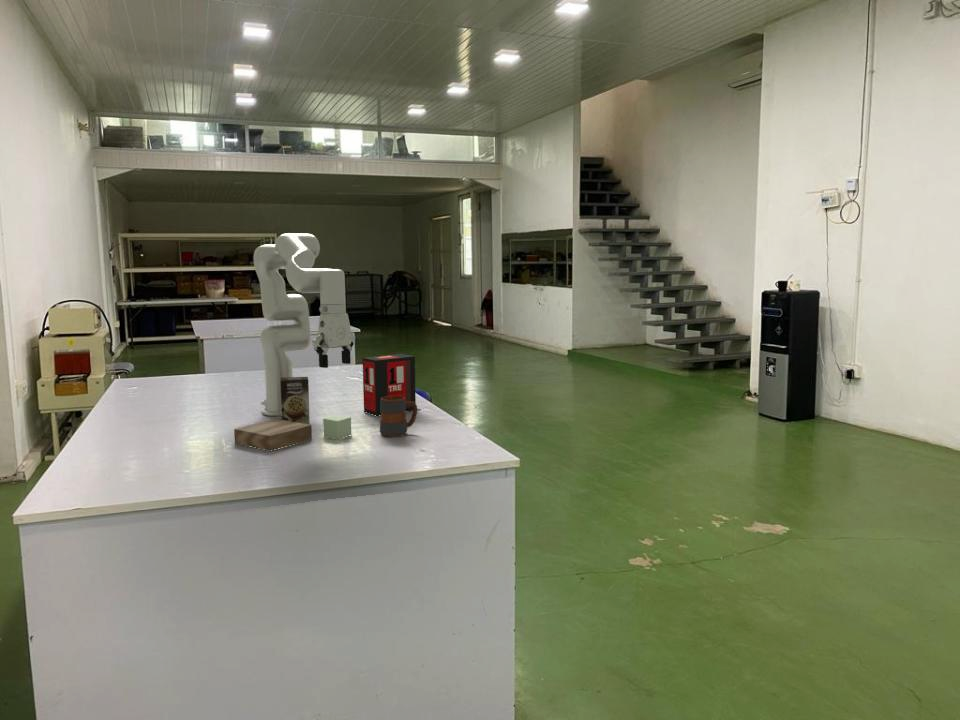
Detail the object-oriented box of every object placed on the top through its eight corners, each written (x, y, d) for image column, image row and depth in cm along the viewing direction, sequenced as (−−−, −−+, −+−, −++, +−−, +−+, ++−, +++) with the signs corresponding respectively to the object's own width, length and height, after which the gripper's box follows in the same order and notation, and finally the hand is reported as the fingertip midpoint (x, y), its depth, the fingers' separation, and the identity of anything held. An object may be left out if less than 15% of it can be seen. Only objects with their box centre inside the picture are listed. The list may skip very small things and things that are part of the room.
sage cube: (323, 437, 219) (323, 418, 218) (337, 433, 224) (337, 415, 223) (337, 440, 216) (337, 421, 215) (351, 436, 221) (350, 417, 220)
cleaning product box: (402, 406, 265) (401, 353, 262) (415, 410, 258) (414, 356, 255) (363, 412, 254) (362, 357, 251) (376, 416, 248) (375, 360, 245)
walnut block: (235, 445, 212) (234, 428, 211) (276, 433, 225) (275, 418, 224) (271, 452, 203) (270, 436, 202) (312, 440, 216) (311, 424, 216)
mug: (420, 435, 221) (419, 399, 219) (381, 438, 218) (380, 401, 216) (415, 429, 229) (414, 394, 227) (378, 431, 226) (377, 396, 224)
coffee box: (281, 428, 230) (279, 380, 228) (281, 424, 236) (279, 377, 234) (310, 426, 233) (308, 378, 230) (309, 422, 239) (307, 375, 236)
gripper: (321, 312, 205) (323, 370, 208) (361, 308, 220) (363, 362, 222) (303, 311, 209) (305, 368, 212) (344, 308, 224) (345, 361, 226)
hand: (335, 365), depth 217 cm, fingers open, 9 cm apart
